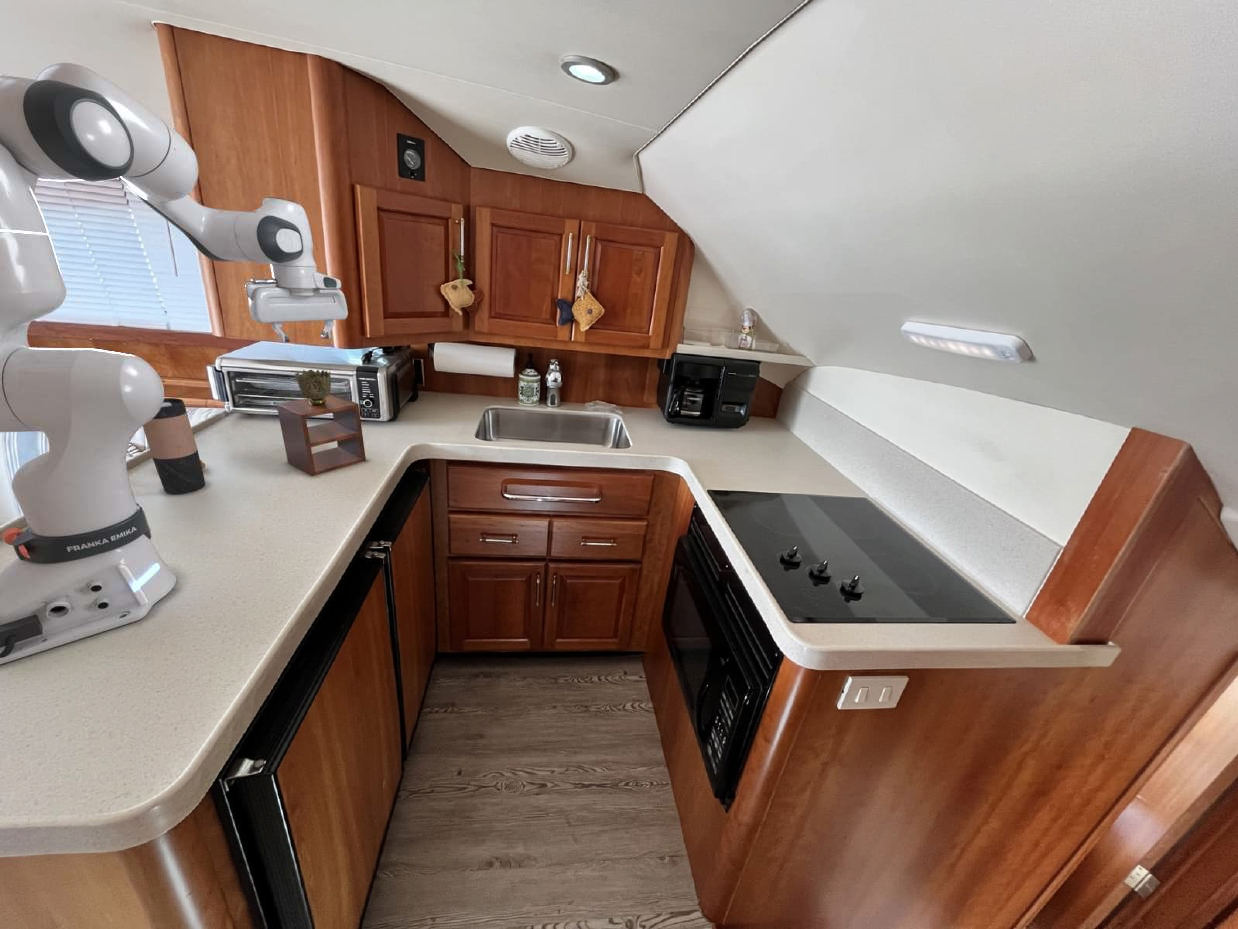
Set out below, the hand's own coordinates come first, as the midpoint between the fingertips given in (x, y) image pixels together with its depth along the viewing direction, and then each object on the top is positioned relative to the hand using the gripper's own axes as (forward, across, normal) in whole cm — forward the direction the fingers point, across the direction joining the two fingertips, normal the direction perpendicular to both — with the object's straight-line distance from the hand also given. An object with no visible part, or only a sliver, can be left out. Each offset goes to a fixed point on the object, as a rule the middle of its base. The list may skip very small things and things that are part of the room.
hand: (306, 340), depth 117 cm
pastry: (+32, -25, +18) cm, 44 cm away
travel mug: (+32, -28, +7) cm, 43 cm away
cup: (+16, 0, 0) cm, 16 cm away
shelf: (+32, 0, 0) cm, 32 cm away
